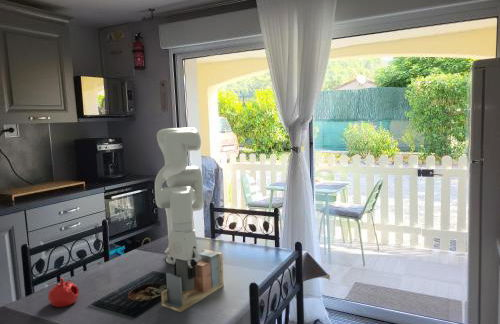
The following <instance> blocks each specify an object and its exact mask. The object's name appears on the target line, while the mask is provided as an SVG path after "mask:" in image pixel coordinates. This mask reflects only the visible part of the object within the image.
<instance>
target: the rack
mask: <svg viewBox="0 0 500 324" xmlns="http://www.w3.org/2000/svg"><path fill="white" fill-rule="evenodd" d="M201 251H202V252H201ZM201 251H200V252H198V253H199V255H200V256H201V258H202V259H201V260H200V261H199V263H198V264H197V266H195V269H196V276H195V277H194V288H193V289H192V290H189V291H182V299H183V305H182V306H180V307H179V308H176V307H173V306H170V305H167V304H164V302H166V301H167V300H168V298H167V288H166V289H164V290H163V291H161V292H160V296H161V298H160V299H161V307H164V308H168V309H171V310H173V311H176V312H180V313H182V312H184V311H185V310H187V309H189V308H191V306H193V305H194V304H196V303H198V302H200V301H201V300H203V299H205V298H206V297H207V296H209V295H211V294H213V293H214V292H217V291H218V290H219V289H221V288H222V287H224V285H225V284H224V269H223V268H224V263H223V253H222V252H218V251H215V250H208V249H205V248H204V249H202V250H201Z"/></svg>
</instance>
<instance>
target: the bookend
mask: <svg viewBox="0 0 500 324" xmlns="http://www.w3.org/2000/svg"><path fill="white" fill-rule="evenodd" d="M165 277H166V278H165V279H166V282H165V283H166V289H167V298H168V300H167V301H166V302H164V304H167V305H170V306H173V307H176V308H179V307H180V306H182V305H183V299H182V283H181V277H180V276H177V275H175V274H172V273H169V272H167V273H165Z"/></svg>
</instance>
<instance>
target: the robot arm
mask: <svg viewBox="0 0 500 324" xmlns="http://www.w3.org/2000/svg"><path fill="white" fill-rule="evenodd" d="M156 141H157V144H158V146H159V149H160V151H161V153H162V154H163V158H164V166H163V167H162V168H160V170H159V171H158V173H157V175H156V177H155V180H154V198H155V199H154V200H155V205H156V206H157V207H158V208H160V209H165V214H166V223H167V236H168V237H167V238H168V247H166V249H165V250H164V254H167V257H166V259H165V261H166V263H167V264H169V265H173V269H174V271H173V272H174V275H177V274H176V259H179V260H184V261H187V262H188V265H189V268H188V279H192V278H194V277H195V276H196V269H195V266H197V264H198V263H199V261H200V260H201V259H202V258H201V256H200V255H199V253H200V252H199V251H198V241H197V240H198V239H197V235H196V232H195V229H194V216H193V212H198V211H201V210H202V209H203V208H204V204H205V203H204V202H205V201H204V185H203V174H202V170H201V168H200V167H198V166H197V165H189V161H188V154H187V153H188V152H194V151H195V152H197V151H199V150H200V149H201V144H202V143H201V142H202V141H201V135H200V133H199V131H198V129H197V128H196V127H170V128H169V127H168V128H162V129H160V130H158V131H157V133H156ZM164 182H166V186H164V187H163V184H164ZM191 260H192V263H191Z"/></svg>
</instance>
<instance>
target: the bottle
mask: <svg viewBox="0 0 500 324" xmlns="http://www.w3.org/2000/svg"><path fill="white" fill-rule="evenodd" d="M191 263H192V260H191ZM188 268H189V265H188V262H187V261H184V260H179V259H176V274H177V276H180V277H181V283H182V291H189V290H192V289H193V288H194V278H192V279H188Z"/></svg>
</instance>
